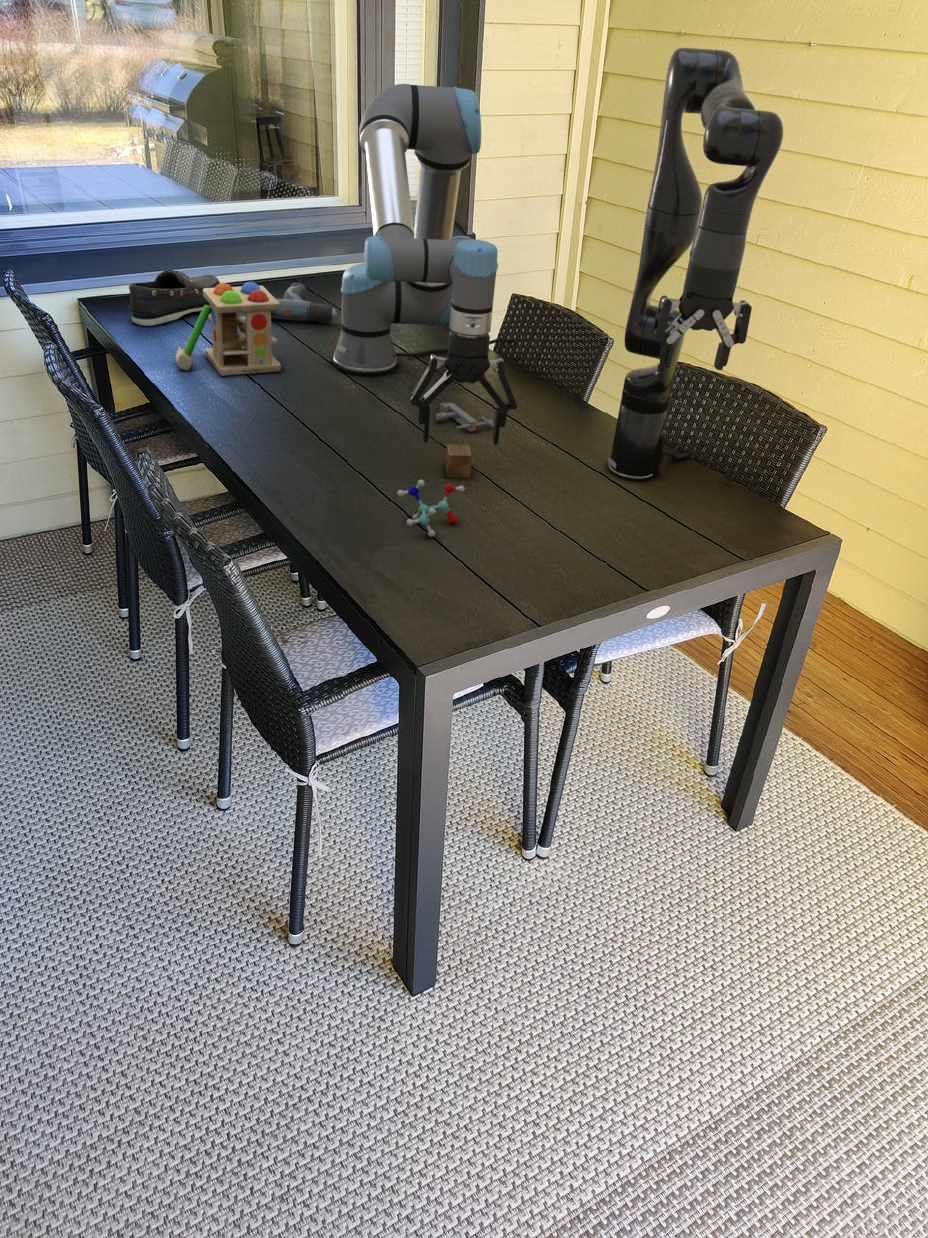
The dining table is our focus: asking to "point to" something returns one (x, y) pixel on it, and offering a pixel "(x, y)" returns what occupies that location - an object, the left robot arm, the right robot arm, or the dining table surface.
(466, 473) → the block
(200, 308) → the boat shoe
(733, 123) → the right robot arm
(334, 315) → the power drill
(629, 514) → the dining table surface
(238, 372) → the pounding bench toy
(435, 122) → the left robot arm
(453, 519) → the molecular model
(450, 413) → the clamp
